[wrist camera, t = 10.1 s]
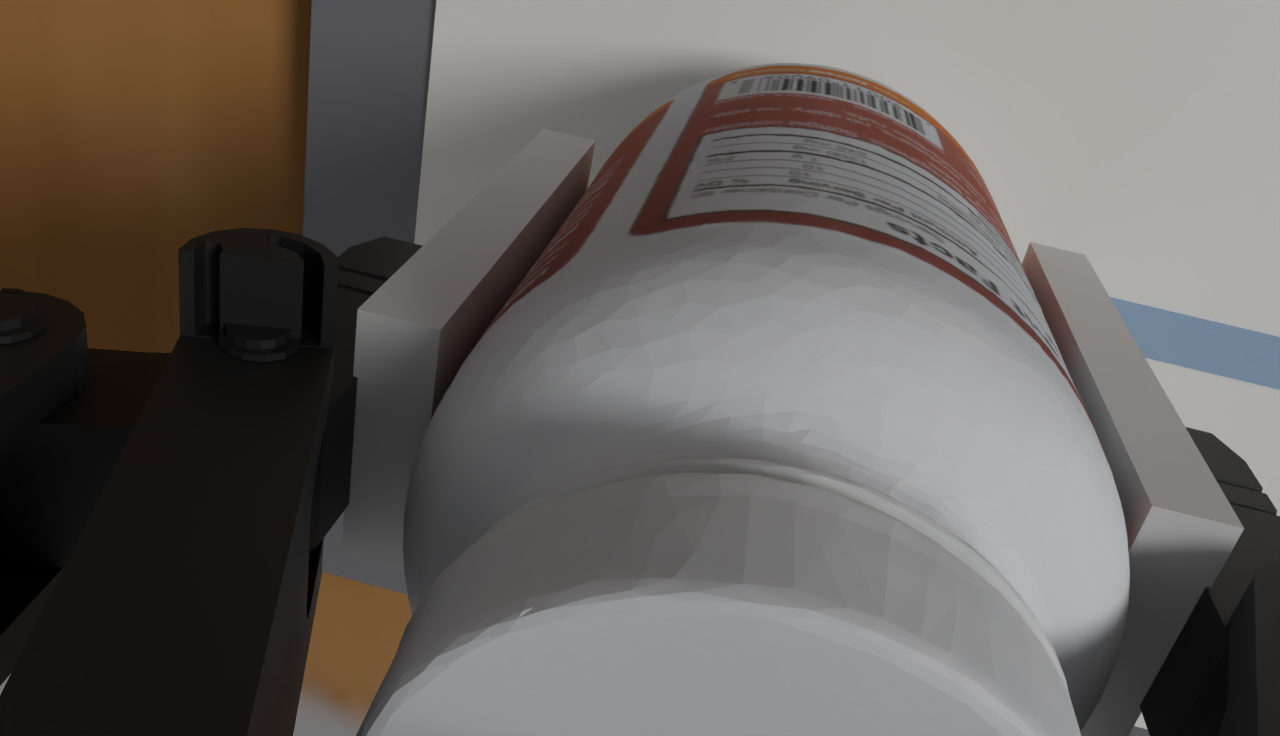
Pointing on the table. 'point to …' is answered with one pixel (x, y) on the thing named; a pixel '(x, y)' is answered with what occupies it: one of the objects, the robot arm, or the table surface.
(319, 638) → the table surface
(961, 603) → the pill bottle
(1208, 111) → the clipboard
